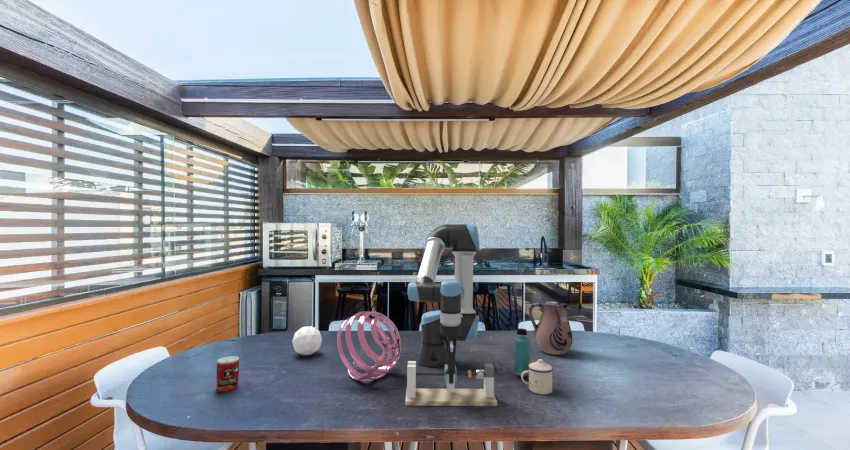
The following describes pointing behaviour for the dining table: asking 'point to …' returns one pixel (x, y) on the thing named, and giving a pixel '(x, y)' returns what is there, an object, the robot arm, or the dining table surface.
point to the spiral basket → (384, 345)
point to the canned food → (227, 373)
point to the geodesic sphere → (307, 340)
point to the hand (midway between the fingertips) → (450, 388)
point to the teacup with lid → (539, 377)
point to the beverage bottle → (522, 352)
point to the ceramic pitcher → (552, 328)
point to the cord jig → (451, 398)
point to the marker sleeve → (447, 371)
